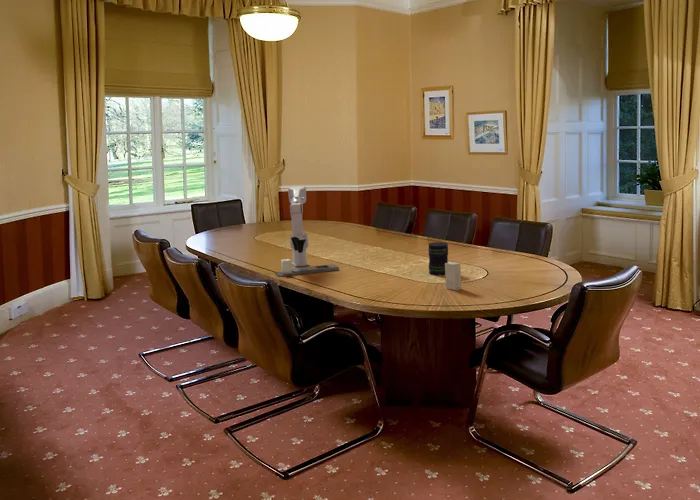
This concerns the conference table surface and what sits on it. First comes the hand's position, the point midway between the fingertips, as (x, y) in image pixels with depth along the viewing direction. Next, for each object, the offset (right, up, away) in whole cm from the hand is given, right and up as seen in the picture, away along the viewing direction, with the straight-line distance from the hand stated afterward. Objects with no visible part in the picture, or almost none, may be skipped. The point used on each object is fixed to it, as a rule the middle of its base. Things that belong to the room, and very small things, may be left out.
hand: (298, 251), depth 363 cm
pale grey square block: (-6, -11, -5) cm, 14 cm away
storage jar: (+72, -11, -16) cm, 74 cm away
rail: (+9, -10, 0) cm, 13 cm away
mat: (-7, -12, -5) cm, 14 cm away
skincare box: (+74, -17, -48) cm, 90 cm away
